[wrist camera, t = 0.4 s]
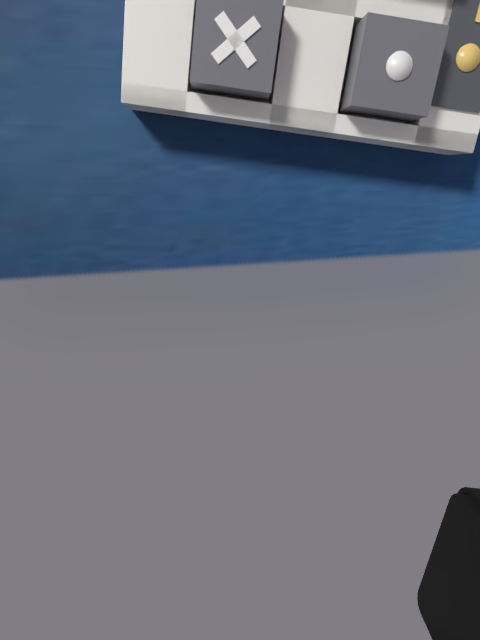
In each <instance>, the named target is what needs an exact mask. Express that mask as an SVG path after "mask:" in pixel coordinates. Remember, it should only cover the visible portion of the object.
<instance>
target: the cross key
mask: <svg viewBox="0 0 480 640" xmlns="http://www.w3.org/2000/svg"><path fill="white" fill-rule="evenodd" d="M283 2H284V0H196V11H195V23H194V35H193V47H192V58H191V70H190V83H191V86H192V88H193V90H198V91H204V92H211V93H218V94H225V95H231V96H238V97H245V98H252V99H258V100H265V101H267V100H268V98H269V96H270V94H271V90H272V82H273V75H274V68H275V60H276V53H277V46H278V38H279V31H280V24H281V16H282V9H283Z"/></svg>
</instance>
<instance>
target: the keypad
mask: <svg viewBox="0 0 480 640" xmlns="http://www.w3.org/2000/svg"><path fill="white" fill-rule="evenodd" d="M195 11H196V0H125V16H124V40H123V63H122V86H121V103H123V104H124V105H126V106H127V107H129V108H130V109H131V110H138V111H145V112H152V113H159V114H166V115H173V116H180V117H187V118H194V119H201V120H208V121H214V122H221V123H228V124H235V125H242V126H249V127H256V128H263V129H270V130H277V131H284V132H291V133H298V134H305V135H312V136H319V137H326V138H333V139H340V140H347V141H354V142H361V143H368V144H375V145H382V146H389V147H396V148H403V149H409V150H416V151H423V152H430V153H437V154H444V155H457V154H468V153H473V151H474V147H475V144H476V140H477V136H478V133H479V129H480V0H284V2H283V9H282V16H281V24H280V31H279V38H278V46H277V53H276V60H275V68H274V75H273V82H272V90H271V94H270V96H269V98H268V100H267V101H265V100H258V99H252V98H245V97H238V96H231V95H225V94H218V93H211V92H204V91H198V90H193V88H192V86H191V83H190V70H191V58H192V47H193V35H194V23H195ZM367 12H371V13H377V14H383V15H389V16H395V17H401V18H407V19H413V20H419V21H426V22H432V23H438V24H444V25H450V26H449V30H448V35H447V39H446V43H445V47H444V51H443V56H442V60H441V64H440V68H439V73H438V77H437V81H436V85H435V89H434V94H433V98H432V102H431V106H430V111H429V115H428V117H425V118H421V119H418V120H414V121H411V122H407V121H400V120H394V119H387V118H380V117H373V116H366V115H360V114H353V113H346V112H339V108H340V103H341V97H342V92H343V86H344V80H345V75H346V69H347V64H348V58H349V53H350V47H351V42H352V36H353V31H354V27H355V26H356V25H357V24H358V23H359V22H360V20H361V19H362V18H363V17H364V16H365V15H366V14H367Z"/></svg>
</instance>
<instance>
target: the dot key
mask: <svg viewBox="0 0 480 640" xmlns="http://www.w3.org/2000/svg"><path fill="white" fill-rule="evenodd" d="M449 26H450V25H444V24H438V23H432V22H426V21H419V20H413V19H407V18H401V17H395V16H389V15H383V14H377V13H371V12H367V14H366V15H365V16H364V17H363V18H362V19H361V20H360V22H359V23H358V24H357V25H356V26H355V27H354V31H353V36H352V42H351V47H350V53H349V58H348V64H347V69H346V75H345V80H344V86H343V92H342V97H341V103H340V108H339V112H346V113H353V114H360V115H366V116H373V117H380V118H387V119H394V120H400V121H407V122H411V121H414V120H418V119H421V118H425V117H428V115H429V111H430V106H431V102H432V98H433V94H434V89H435V85H436V81H437V77H438V73H439V68H440V64H441V60H442V56H443V51H444V47H445V43H446V39H447V35H448V30H449Z"/></svg>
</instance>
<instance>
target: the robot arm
mask: <svg viewBox="0 0 480 640" xmlns="http://www.w3.org/2000/svg"><path fill="white" fill-rule="evenodd" d="M418 606H419V610H420V612H421V615H422V617H423V619H424V622H425V624H426V626H427V628H428V630H429V633H430V635H431V637H432V639H433V640H480V489H478V488H468V487H464V488H461V489H460V490H459V492H458V493H457V494H453V495H452V496H451V498H450V500H449V503H448V506H447V509H446V512H445V515H444V518H443V520H442V523H441V526H440V529H439V532H438V535H437V538H436V541H435V544H434V546H433V549H432V553H431V555H430V558H429V561H428V564H427V567H426V570H425V573H424V575H423V578H422V581H421V585H420V587H419V590H418Z"/></svg>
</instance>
